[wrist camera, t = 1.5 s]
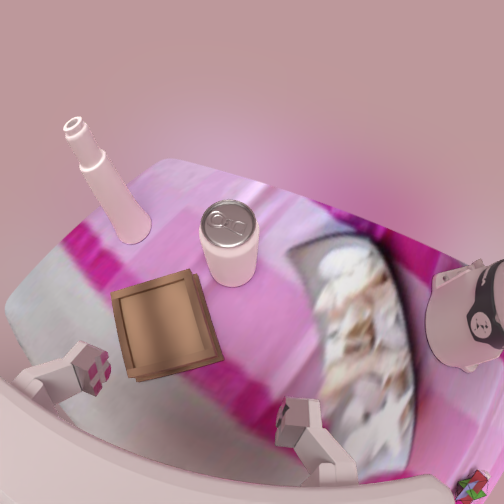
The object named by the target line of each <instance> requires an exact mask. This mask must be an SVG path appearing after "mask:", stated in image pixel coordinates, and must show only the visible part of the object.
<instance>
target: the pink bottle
mask: <svg viewBox="0 0 504 504" xmlns="http://www.w3.org/2000/svg"><path fill="white" fill-rule="evenodd" d="M63 129H64V132H65V133H66V136H65V137H66V140H67V142H68V144H69V145H70V147H71V149H72V150H73V152H74V154H75V156H76V157H77V159H78V160H79V162H80V165H79V167H80V170H81V172H82V174H83V176H84V178H85V180H86V181H87V183H88V185H89V187H90V188H91V190H92V192H93V193H94V195H95V197H96V198H97V200H98V201H99V203H100V205H101V206H102V208H103V209H104V211H105V213H106V214H107V216H108V218H109V219H110V221H111V223H112V225H113V227H114V229H115V231H116V233H117V236H118V238H119V239H120V240H121V241H122V242H123V243H125V244H136V243H138V242H140V241H142V240H143V239H144V238H145V237H146V236H147V235H148V234H149V232H150V229H151V219H150V217H149V215H148V214H147V213H146V212H145V211H144V210H143V209H142V208H141V207H140V205H139V204H138V203H137V202H136V200H135V199H134V197H133V196H132V194H131V193H130V191H129V190H128V188H127V187H126V185H125V183H124V182H123V180H122V178H121V177H120V175H119V174H118V172H117V170H116V169H115V167H114V165H113V164H112V162H111V160H110V159H109V157H108V156H107V154H106V153H105V151H104V150H101V149H99V147H98V145H97V143H96V141H95V139H94V137H93V135H92V133H91V131H90V129H89V126H88V125H87V123H85V122H83V120H82V118H81V117H74V118H73V119H71V120H69V121H68V122H67V123H66V124H65V126H64V128H63Z"/></svg>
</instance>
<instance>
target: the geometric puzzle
mask: <svg viewBox="0 0 504 504" xmlns="http://www.w3.org/2000/svg"><path fill="white" fill-rule="evenodd" d="M480 471H483V470H480ZM483 472H485V474H486V476H487V478H486V477H485V476H484V475H485V474H484V475H483V474H482V472H479V471H478V469H477V471H476V472H475V474H474V475H473V476H472V478H471V479H467V480H463V481H458V483H459V484H460V485H461V486H462V487H463V490H462V491H461V492H460V493H459V495H458V493H457V497H456V499H455V500H454V501H456V502H457V501H462V503H463V504H470V502H471V501H472V500H473V501H474V500H476V499H479V498H481V497H484V496H487V495H486V494H485V493H484V492H483V491H482V488H483V486H485V484H486V483H487V481H488V480H489V479H490V478H491V475H490V474H489V473H488V472H487V471H483ZM468 476H469V475H468ZM457 485H458V484H457ZM487 489H488V487H487ZM456 491H457V490H456ZM455 496H456V495H455ZM458 499H460V500H458ZM476 502H477V501H476Z"/></svg>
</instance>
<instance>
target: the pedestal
mask: <svg viewBox="0 0 504 504" xmlns="http://www.w3.org/2000/svg"><path fill="white" fill-rule="evenodd" d="M110 294H111V300H112V306H113V312H114V317H115V323H116V328H117V333H118V337H119V342H120V346H121V351H122V355H123V359H124V363H125V367H126V371H127V375H128V378H136V382H142V381H146V380H151V379H155V378H159V377H164V376H168V375H172V374H176V373H180V372H184V371H187V370H191V369H195V368H198V367H202V366H206V365H209V364H213V363H216V362H219V361H223V360H224V358H223V355H222V352H221V349H220V346H219V343H218V340H217V336H216V333H215V330H214V327H213V324H212V321H211V318H210V314H209V311H208V308H207V305H206V301H205V298H204V295H203V291H202V288H201V284H200V281H199V277H198V275H197V274H192V272H191V270H190V269H186V270H183V271H180V272H177V273H173V274H170V275H167V276H163V277H160V278H157V279H154V280H150V281H147V282H144V283H140V284H137V285H134V286H131V287H127V288H124V289H121V290H117V291H114V292H111V293H110Z"/></svg>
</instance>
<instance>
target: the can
mask: <svg viewBox="0 0 504 504" xmlns="http://www.w3.org/2000/svg"><path fill="white" fill-rule="evenodd" d="M199 237H200V241H201V245H202V248H203V251H204V255H205V258H206V261H207V264H208V267H209V270H210V273H211V275H212V277H213V278H214V279H215V280H216V281H217V282H218V283H220V284H221V285H224V286H227V287H237V286H241V285H243V284H245V283H246V282H248V281H249V280H250V279H251V277H252V276H253V274H254V272H255V268H256V260H257V251H258V242H259V225H258V222H257V220H256V218H255V215H254V213H253V211H252V210H251V209H250V208H249V207H248V206H247V205H246V204H244V203H242V202H240V201H236V200H222V201H219V202H216V203H214V204H213V205H211V206H210V207H209V208H208V209H207V210H206V211H205V212H204V214H203V216H202V219H201V224H200V227H199Z"/></svg>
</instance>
